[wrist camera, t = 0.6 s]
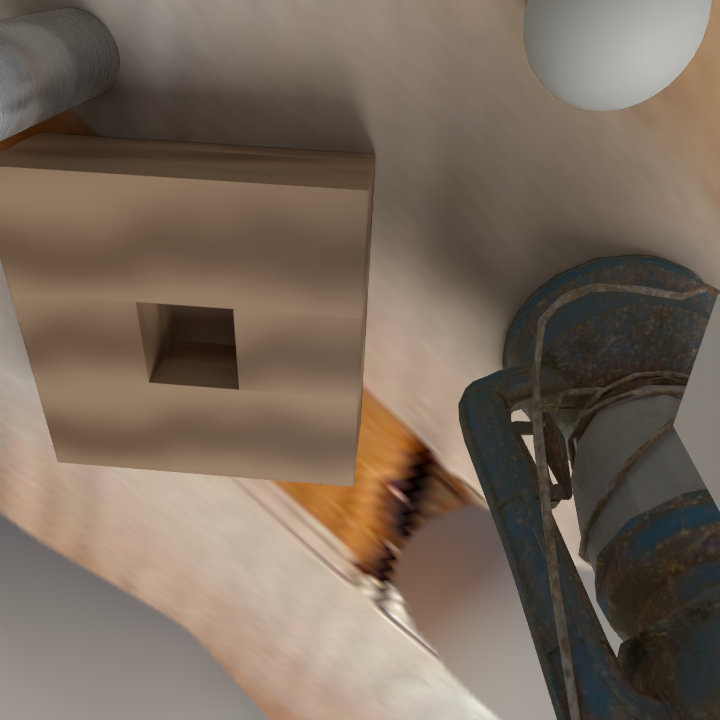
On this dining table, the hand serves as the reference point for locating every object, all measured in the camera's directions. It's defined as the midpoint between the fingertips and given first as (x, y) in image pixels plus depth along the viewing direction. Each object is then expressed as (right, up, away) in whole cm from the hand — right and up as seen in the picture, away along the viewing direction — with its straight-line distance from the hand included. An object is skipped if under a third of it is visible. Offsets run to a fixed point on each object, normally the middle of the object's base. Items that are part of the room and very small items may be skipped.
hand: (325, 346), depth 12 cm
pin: (-13, +15, +20) cm, 29 cm away
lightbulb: (+10, +16, +18) cm, 26 cm away
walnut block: (-8, +4, +27) cm, 29 cm away
